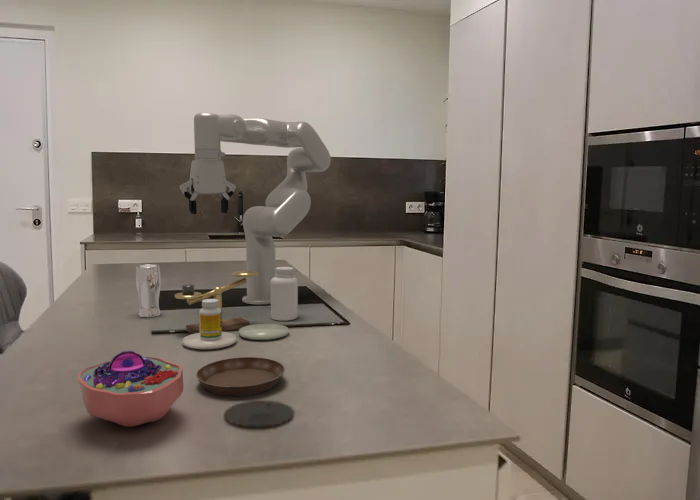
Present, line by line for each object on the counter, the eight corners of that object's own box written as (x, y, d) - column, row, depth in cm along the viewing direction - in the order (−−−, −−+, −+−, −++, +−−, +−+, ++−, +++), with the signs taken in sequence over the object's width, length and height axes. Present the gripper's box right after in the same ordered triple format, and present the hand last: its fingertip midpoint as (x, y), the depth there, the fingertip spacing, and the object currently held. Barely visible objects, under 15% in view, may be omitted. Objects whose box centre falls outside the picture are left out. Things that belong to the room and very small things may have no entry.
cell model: (84, 453, 91) (80, 381, 90) (76, 407, 109) (73, 347, 107) (196, 431, 99) (194, 365, 98) (171, 392, 117) (170, 335, 115)
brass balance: (251, 320, 174) (251, 269, 172) (262, 325, 168) (262, 273, 166) (172, 332, 160) (170, 277, 159) (181, 338, 155) (179, 281, 153)
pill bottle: (302, 316, 179) (302, 267, 177) (289, 322, 172) (288, 270, 170) (280, 313, 182) (279, 265, 180) (265, 319, 175) (264, 268, 173)
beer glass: (154, 318, 175) (152, 268, 173) (132, 317, 176) (130, 267, 175) (166, 313, 182) (164, 264, 180) (145, 312, 183) (143, 263, 181)
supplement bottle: (197, 336, 151) (196, 299, 150) (218, 334, 154) (218, 297, 152) (202, 341, 146) (201, 303, 145) (224, 339, 149) (223, 301, 148)
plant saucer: (204, 406, 110) (204, 390, 110) (190, 376, 127) (189, 362, 126) (296, 393, 117) (296, 378, 117) (271, 366, 133) (271, 353, 133)
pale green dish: (274, 326, 167) (274, 321, 167) (297, 336, 157) (297, 331, 157) (230, 333, 160) (230, 327, 160) (252, 344, 149) (252, 339, 149)
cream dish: (223, 334, 159) (223, 329, 159) (244, 345, 148) (244, 340, 148) (175, 341, 151) (175, 336, 151) (194, 354, 141) (193, 348, 141)
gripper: (229, 156, 186) (230, 211, 188) (174, 155, 176) (176, 213, 178) (240, 156, 180) (240, 213, 182) (183, 154, 170) (185, 215, 172)
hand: (209, 213), depth 180 cm, fingers open, 9 cm apart
